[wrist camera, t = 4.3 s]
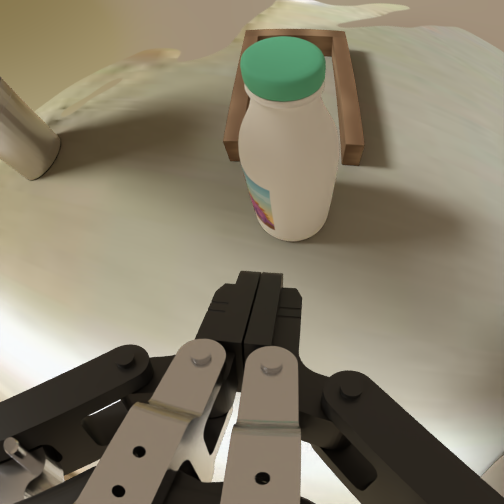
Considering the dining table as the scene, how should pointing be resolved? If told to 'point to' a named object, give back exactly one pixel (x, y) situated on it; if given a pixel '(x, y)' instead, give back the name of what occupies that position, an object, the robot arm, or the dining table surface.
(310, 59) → the milk bottle
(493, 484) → the pot
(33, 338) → the dining table surface
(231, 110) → the walnut U-rest
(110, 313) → the dining table surface
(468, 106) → the dining table surface
